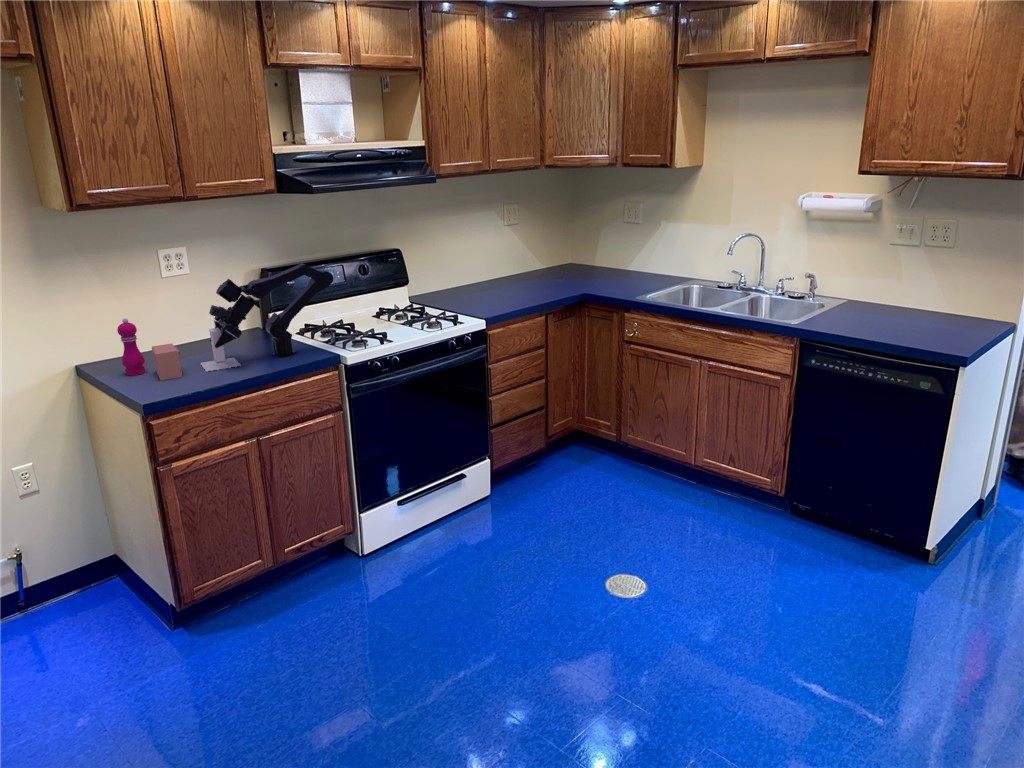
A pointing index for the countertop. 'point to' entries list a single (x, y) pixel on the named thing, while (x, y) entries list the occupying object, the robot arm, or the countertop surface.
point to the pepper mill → (130, 349)
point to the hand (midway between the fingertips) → (213, 344)
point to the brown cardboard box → (167, 361)
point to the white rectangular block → (217, 352)
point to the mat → (212, 366)
